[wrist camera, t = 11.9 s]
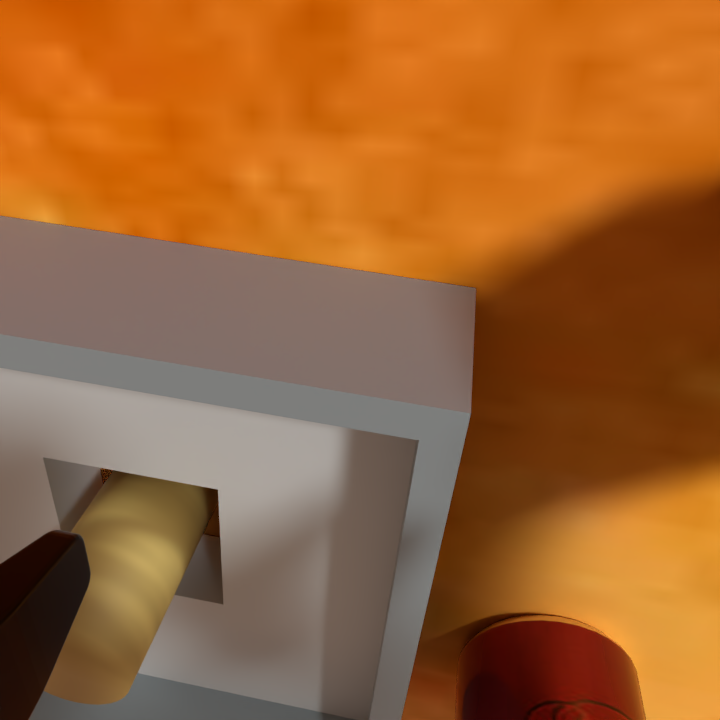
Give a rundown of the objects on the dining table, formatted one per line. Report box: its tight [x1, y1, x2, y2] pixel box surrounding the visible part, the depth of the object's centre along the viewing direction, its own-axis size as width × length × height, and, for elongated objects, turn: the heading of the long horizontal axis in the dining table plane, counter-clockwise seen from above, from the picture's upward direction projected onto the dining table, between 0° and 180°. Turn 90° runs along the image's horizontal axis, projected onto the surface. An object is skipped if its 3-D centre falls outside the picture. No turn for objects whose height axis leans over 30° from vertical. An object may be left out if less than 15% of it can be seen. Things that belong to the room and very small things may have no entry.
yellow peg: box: [44, 470, 218, 705], centre depth 23 cm, size 4×4×8 cm
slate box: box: [0, 216, 476, 720], centre depth 23 cm, size 20×20×6 cm
